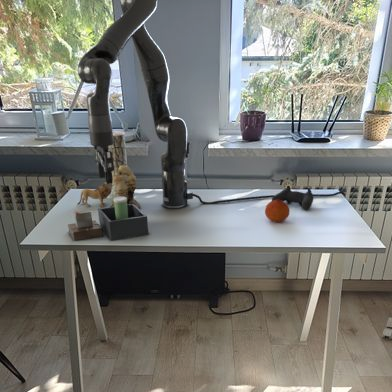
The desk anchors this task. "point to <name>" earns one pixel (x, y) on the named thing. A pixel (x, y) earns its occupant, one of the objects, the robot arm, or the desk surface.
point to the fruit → (277, 211)
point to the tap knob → (83, 218)
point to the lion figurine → (96, 194)
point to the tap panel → (85, 231)
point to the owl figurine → (124, 185)
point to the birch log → (118, 151)
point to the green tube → (121, 208)
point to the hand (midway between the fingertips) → (105, 180)
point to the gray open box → (123, 223)
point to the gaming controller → (295, 197)
